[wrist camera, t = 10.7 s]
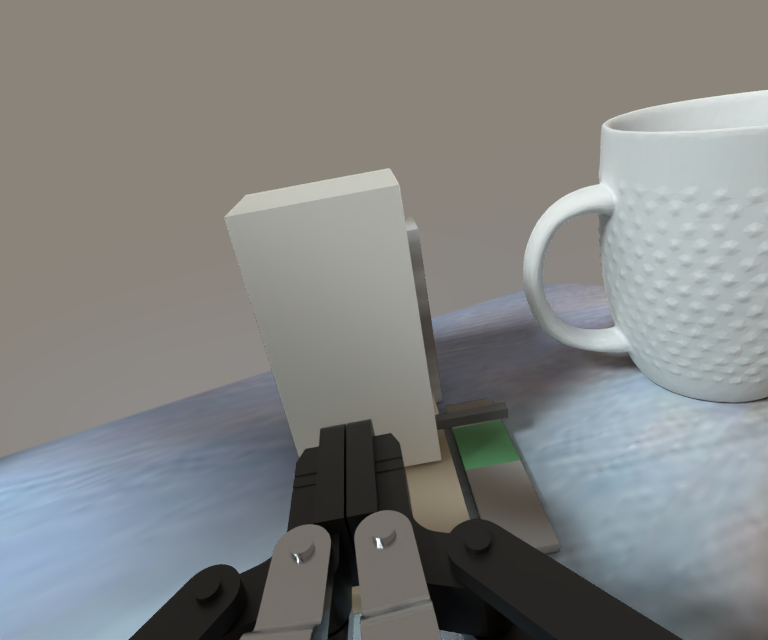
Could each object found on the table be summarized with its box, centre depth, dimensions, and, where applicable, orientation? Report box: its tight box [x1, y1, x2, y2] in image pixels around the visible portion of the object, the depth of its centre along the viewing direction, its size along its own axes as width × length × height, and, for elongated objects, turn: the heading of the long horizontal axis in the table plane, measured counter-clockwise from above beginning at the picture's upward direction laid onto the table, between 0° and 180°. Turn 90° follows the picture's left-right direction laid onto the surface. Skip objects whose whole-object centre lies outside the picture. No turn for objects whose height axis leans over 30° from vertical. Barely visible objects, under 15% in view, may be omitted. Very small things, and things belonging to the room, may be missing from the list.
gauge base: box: [352, 217, 560, 614], centre depth 22 cm, size 14×10×10 cm
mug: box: [523, 90, 768, 403], centre depth 24 cm, size 15×11×13 cm
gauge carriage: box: [224, 168, 508, 467], centre depth 21 cm, size 4×10×12 cm, turn 94°
